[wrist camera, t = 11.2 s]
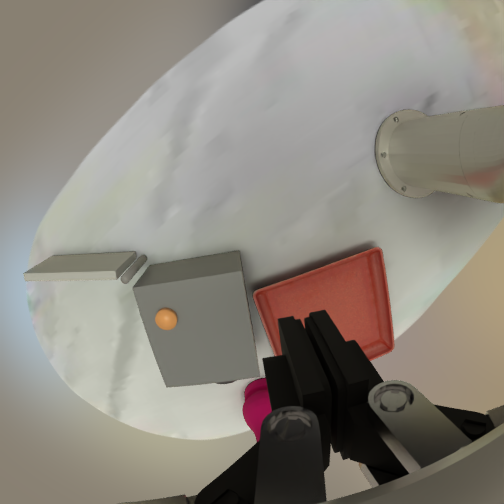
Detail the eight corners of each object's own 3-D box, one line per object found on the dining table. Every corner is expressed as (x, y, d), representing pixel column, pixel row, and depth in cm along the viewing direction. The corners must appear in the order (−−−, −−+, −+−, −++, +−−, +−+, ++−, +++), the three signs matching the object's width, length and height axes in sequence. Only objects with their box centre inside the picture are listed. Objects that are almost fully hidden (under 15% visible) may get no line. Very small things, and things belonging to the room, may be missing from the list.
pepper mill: (232, 389, 45) (236, 493, 26) (270, 368, 45) (292, 473, 25) (257, 413, 47) (270, 510, 28) (293, 393, 47) (321, 491, 27)
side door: (147, 262, 39) (129, 283, 31) (54, 265, 38) (26, 284, 30) (145, 251, 38) (127, 270, 31) (52, 255, 37) (23, 273, 30)
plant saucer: (387, 340, 46) (396, 350, 42) (284, 379, 46) (288, 393, 43) (371, 239, 41) (381, 245, 38) (248, 282, 41) (250, 291, 38)
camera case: (239, 250, 39) (242, 273, 31) (256, 349, 44) (262, 387, 35) (148, 265, 39) (128, 290, 31) (175, 360, 43) (166, 398, 35)
